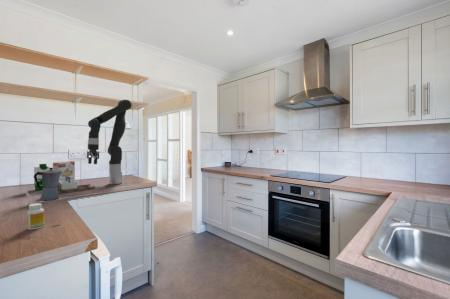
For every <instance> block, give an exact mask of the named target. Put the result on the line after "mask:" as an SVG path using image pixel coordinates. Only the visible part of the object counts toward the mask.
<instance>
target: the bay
mask: <svg viewBox="0 0 450 299" xmlns="http://www.w3.org/2000/svg"><path fill="white" fill-rule="evenodd" d="M57 187H58V195H59V194H60V195H61V194H65V193H67V194H68V193H74V192H80V191H81V192H83V191H89V190H95V189H96V186H95V185H92V184H91V183H86V184H80V185H79V184H77V188H75V189H67V190H59V182H58V186H57Z"/></svg>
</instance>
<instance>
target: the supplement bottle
mask: <svg viewBox="0 0 450 299" xmlns="http://www.w3.org/2000/svg"><path fill="white" fill-rule="evenodd" d="M28 209H29V210H27V212H26V226H27V227H26V228H27V230H31V231H32V230H38V229H41V228H44V227H45V209H44V208H42V203H40V202H39V203H31V204H29V205H28Z"/></svg>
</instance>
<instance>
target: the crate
mask: <svg viewBox="0 0 450 299" xmlns="http://www.w3.org/2000/svg"><path fill="white" fill-rule="evenodd" d="M65 178H66V181H61V182H59V190H67V189H75V188H77V185H78V182H77V181H76V180H75V181H74V180H70V177H69V176H65ZM67 179H68V180H67Z"/></svg>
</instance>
